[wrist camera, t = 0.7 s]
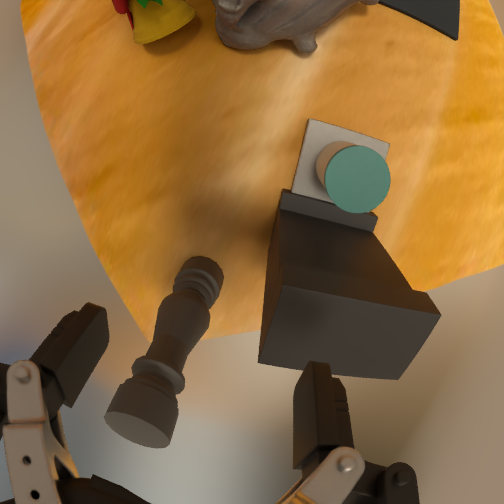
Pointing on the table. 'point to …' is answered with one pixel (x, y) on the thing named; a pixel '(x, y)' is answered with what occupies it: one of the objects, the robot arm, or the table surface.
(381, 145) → the coffee maker
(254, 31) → the piggy bank
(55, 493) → the robot arm
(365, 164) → the container
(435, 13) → the mat
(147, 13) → the ornament
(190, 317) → the candle holder
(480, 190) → the table surface
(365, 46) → the table surface
